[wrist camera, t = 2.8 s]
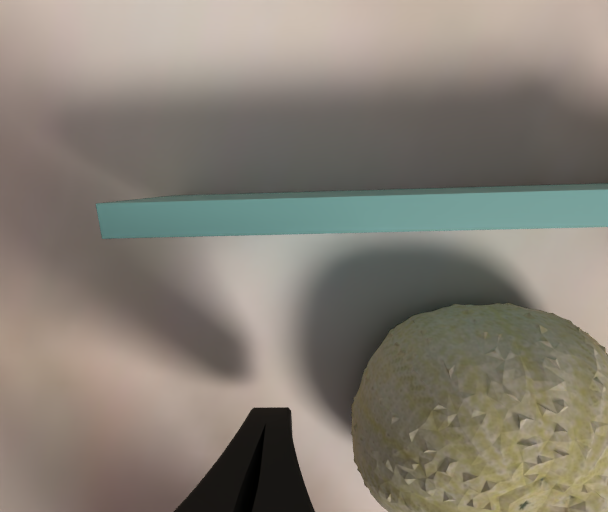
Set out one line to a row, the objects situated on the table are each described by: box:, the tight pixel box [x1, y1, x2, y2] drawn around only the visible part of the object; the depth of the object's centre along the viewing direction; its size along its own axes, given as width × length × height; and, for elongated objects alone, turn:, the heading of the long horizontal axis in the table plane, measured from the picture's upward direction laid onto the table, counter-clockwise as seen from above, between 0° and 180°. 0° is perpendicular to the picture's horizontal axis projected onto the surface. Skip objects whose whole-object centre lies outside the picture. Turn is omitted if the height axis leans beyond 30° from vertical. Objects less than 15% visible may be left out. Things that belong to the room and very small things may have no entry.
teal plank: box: [96, 183, 608, 239], centre depth 9 cm, size 17×1×4 cm, turn 92°
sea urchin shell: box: [351, 303, 608, 512], centre depth 11 cm, size 9×8×8 cm
